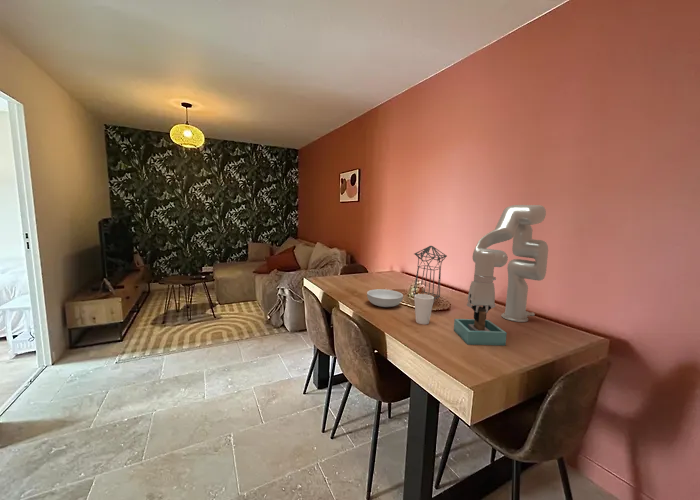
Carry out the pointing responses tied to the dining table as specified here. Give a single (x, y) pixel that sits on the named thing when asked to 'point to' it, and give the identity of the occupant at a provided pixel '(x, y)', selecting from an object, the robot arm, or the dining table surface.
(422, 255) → the geometric lantern
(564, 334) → the dining table surface
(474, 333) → the teal shallow tray
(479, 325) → the brown rectangular block
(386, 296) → the serving bowl
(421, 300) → the foam cup
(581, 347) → the dining table surface
